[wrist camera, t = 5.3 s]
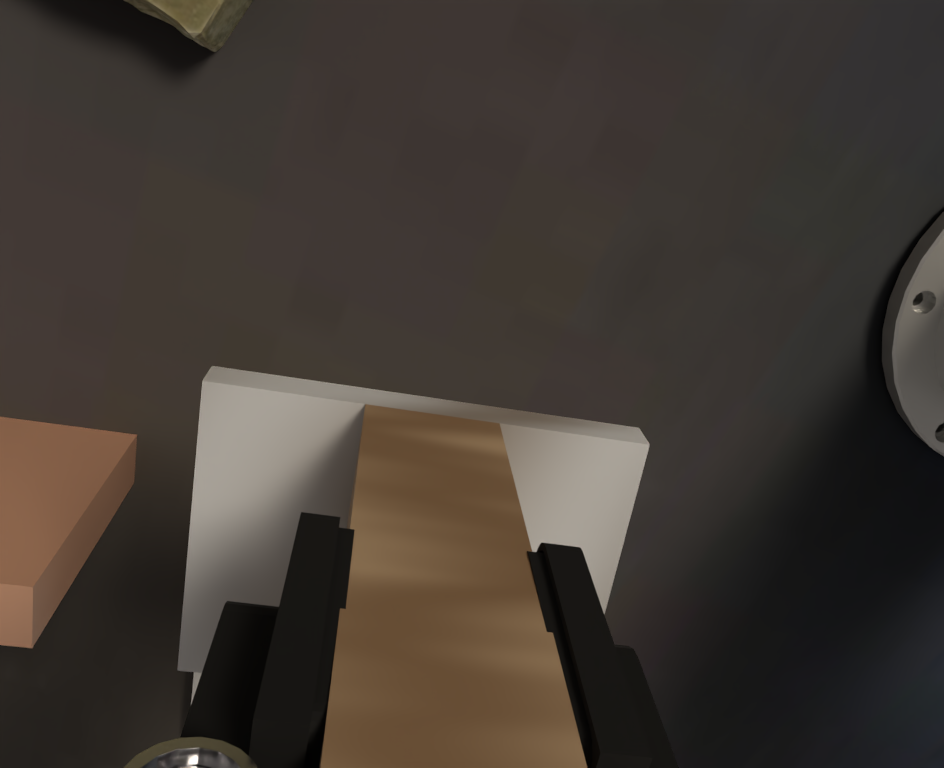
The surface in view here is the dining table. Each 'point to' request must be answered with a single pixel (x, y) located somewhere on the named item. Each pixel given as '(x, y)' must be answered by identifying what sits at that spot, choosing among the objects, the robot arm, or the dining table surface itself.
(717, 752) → the dining table surface
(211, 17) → the mineral wool slab
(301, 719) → the robot arm
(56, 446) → the terracotta tile
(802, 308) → the dining table surface
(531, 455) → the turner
